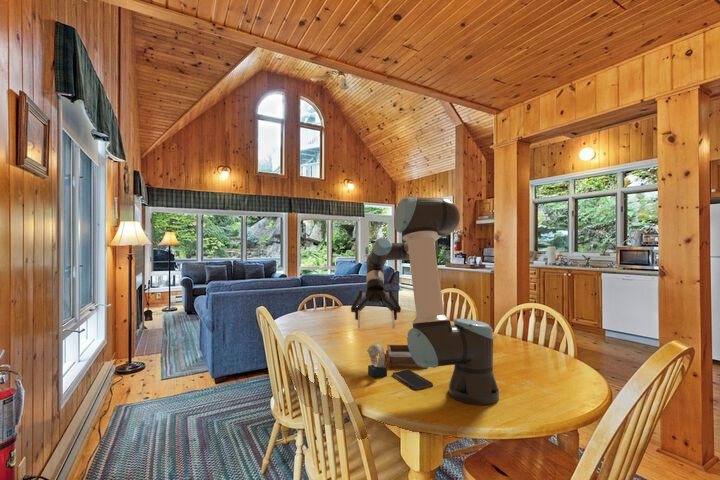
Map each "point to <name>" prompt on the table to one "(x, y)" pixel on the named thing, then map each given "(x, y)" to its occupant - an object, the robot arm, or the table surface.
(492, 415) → the table surface
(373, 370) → the watch
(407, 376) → the phone
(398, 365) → the walnut tray
